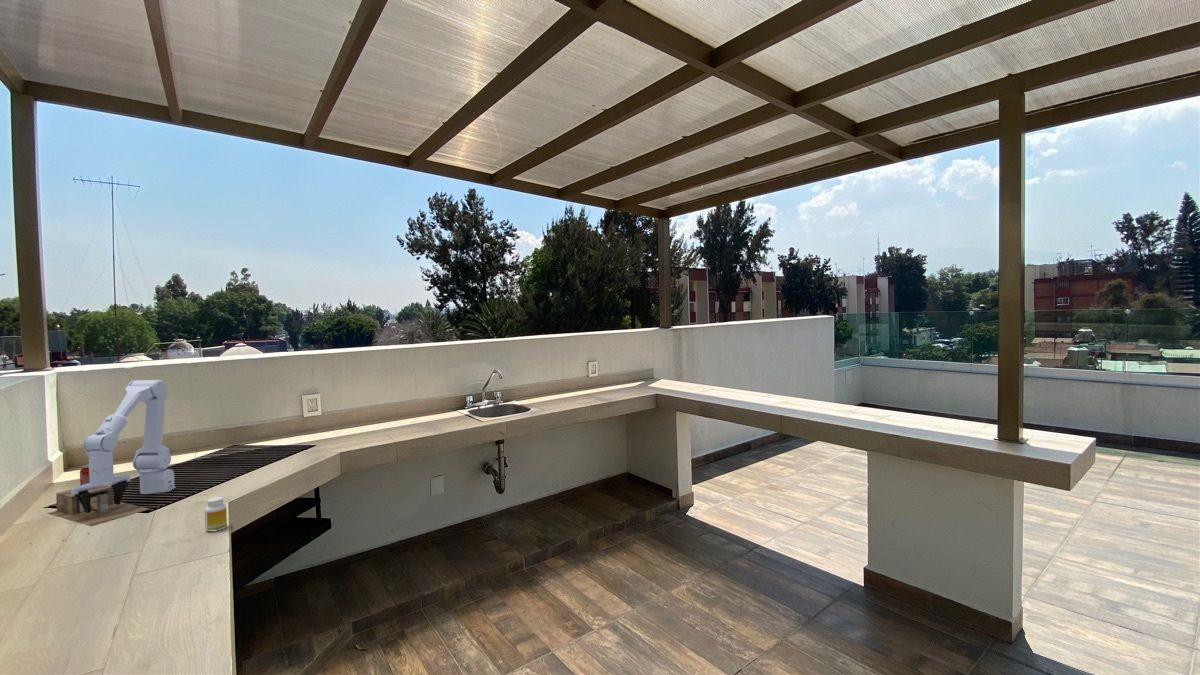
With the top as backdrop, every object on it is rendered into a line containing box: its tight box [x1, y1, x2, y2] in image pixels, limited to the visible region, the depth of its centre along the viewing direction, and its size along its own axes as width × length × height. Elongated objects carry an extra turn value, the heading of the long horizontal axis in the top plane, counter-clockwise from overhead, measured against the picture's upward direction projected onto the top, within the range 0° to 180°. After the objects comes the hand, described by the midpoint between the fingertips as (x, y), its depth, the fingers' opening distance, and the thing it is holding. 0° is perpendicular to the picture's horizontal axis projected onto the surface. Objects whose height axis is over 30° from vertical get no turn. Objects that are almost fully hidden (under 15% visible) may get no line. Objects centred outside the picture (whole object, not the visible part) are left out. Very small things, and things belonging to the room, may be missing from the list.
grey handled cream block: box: [77, 493, 108, 514], centre depth 166 cm, size 14×6×6 cm, turn 69°
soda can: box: [79, 463, 90, 486], centre depth 181 cm, size 7×7×12 cm
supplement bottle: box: [204, 496, 228, 531], centre depth 153 cm, size 5×5×10 cm
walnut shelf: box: [46, 485, 150, 527], centre depth 164 cm, size 28×15×7 cm, turn 69°
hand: (102, 508), depth 164 cm, fingers open, 7 cm apart
